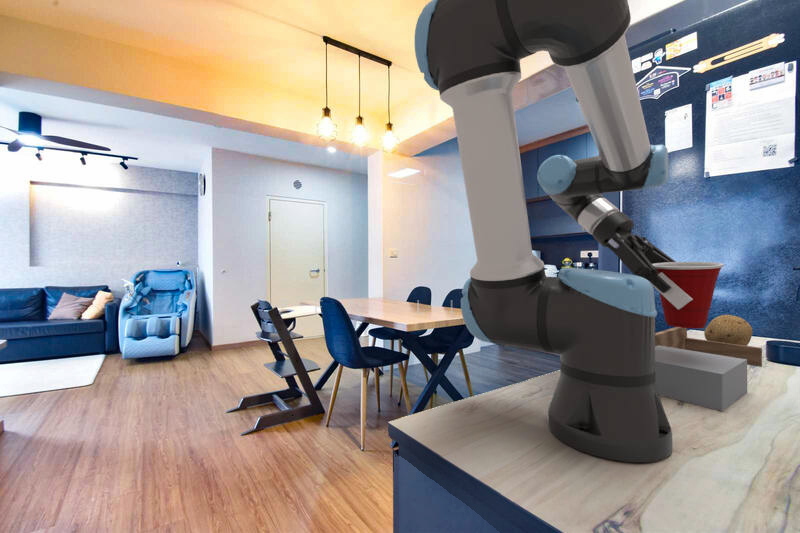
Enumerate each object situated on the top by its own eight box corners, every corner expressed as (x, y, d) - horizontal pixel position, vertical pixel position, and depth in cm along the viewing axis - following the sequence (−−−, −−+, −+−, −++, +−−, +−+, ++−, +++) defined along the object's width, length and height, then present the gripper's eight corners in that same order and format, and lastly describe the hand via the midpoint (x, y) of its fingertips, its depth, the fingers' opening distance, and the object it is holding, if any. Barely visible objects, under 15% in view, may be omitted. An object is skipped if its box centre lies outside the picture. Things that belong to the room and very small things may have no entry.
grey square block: (722, 411, 58) (722, 374, 58) (627, 386, 69) (627, 355, 69) (747, 392, 66) (747, 359, 66) (658, 373, 77) (658, 345, 77)
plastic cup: (643, 326, 68) (643, 262, 67) (656, 319, 75) (656, 261, 75) (720, 334, 60) (721, 262, 60) (726, 325, 67) (726, 261, 67)
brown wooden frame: (731, 386, 69) (731, 349, 69) (643, 367, 81) (642, 336, 81) (762, 365, 82) (762, 334, 81) (681, 352, 94) (681, 325, 94)
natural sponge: (702, 353, 92) (702, 314, 92) (706, 347, 98) (706, 311, 98) (751, 360, 85) (751, 318, 85) (753, 353, 92) (753, 314, 91)
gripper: (617, 237, 87) (699, 309, 74) (566, 235, 75) (653, 321, 62) (641, 213, 83) (733, 285, 70) (591, 206, 71) (691, 292, 58)
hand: (695, 302), depth 66 cm, fingers closed on plastic cup, 9 cm apart
